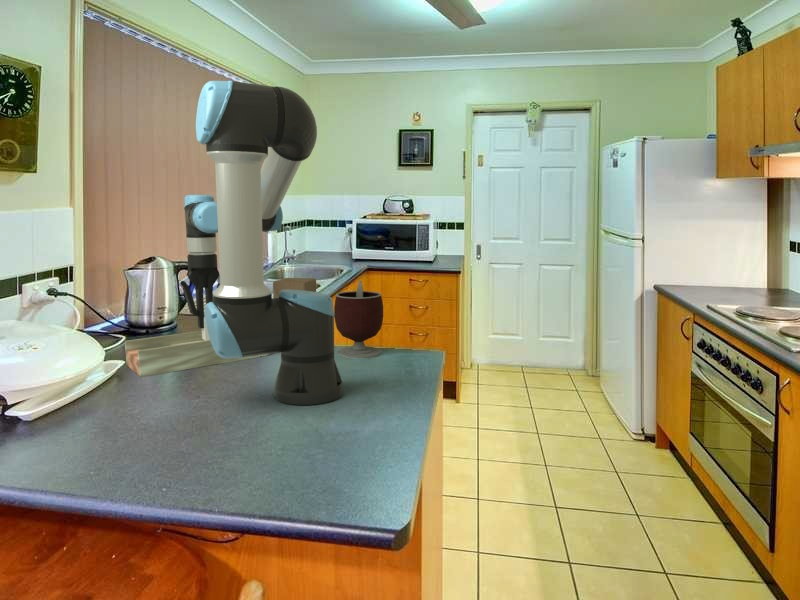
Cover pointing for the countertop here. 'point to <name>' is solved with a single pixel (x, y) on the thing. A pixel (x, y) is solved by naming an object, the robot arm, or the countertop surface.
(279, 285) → the wooden block
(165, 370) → the channel runway
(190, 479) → the countertop surface
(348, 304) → the mate gourd
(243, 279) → the robot arm
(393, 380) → the countertop surface
